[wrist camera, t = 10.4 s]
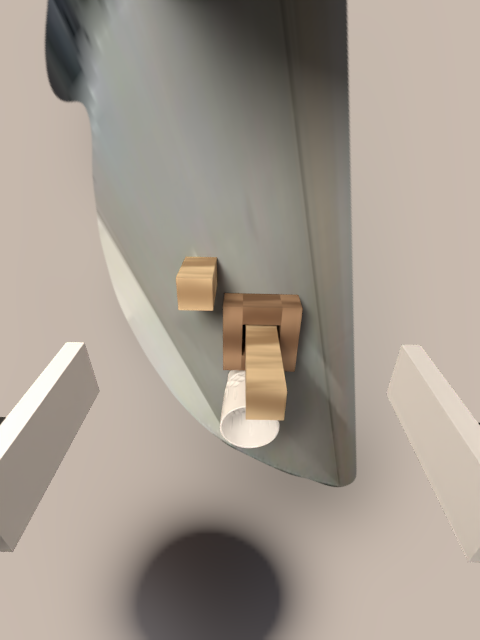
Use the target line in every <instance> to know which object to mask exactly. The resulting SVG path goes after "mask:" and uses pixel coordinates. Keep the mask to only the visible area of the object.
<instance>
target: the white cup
mask: <svg viewBox="0 0 480 640" xmlns="http://www.w3.org/2000/svg"><path fill="white" fill-rule="evenodd" d="M220 431H221V434H222V436H223V437H224V438H225V439H226V440H227V441H228V442H230V443H231V444H233V445H235V446H238V447H243V448H256V447H261V446H264V445H266V444H268V443H270V442H271V441H272V440H274V439H275V437H276V436H277V434H278V432H279V420H246V396H245V370H231V371H230V372H229V374H228V380H227V386H226V388H225V394H224V400H223V407H222V414H221V421H220Z"/></svg>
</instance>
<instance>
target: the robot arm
mask: <svg viewBox="0 0 480 640" xmlns="http://www.w3.org/2000/svg"><path fill="white" fill-rule="evenodd" d="M98 393H99V387H98V384H97V381H96V378H95V375H94V371H93V368H92V365H91V362H90V359H89V355H88V352H87V349H86V346H85V343H82V342H80V343H78V342H66V344H65V345H64V346H63V347H62V348H61V350H60V351H59V352H58V354H57V355H56V356H55V357H54V359H53V360H52V361H51V362H50V364H49V365H48V366H47V367H46V369H45V370H44V371H43V372H42V374H41V375H40V376H39V377H38V379H37V380H36V381H35V382H34V384H33V385H32V386H31V387H30V389H29V390H28V391H27V392H26V394H25V395H24V396H23V397H22V399H21V400H20V401H19V402H18V404H17V405H16V406H15V407H14V409H13V410H12V411H11V412H10V414H9V415H8V416H7V417H0V551H1V552H13V551H14V549H15V547H16V545H17V543H18V541H19V540H20V538H21V536H22V534H23V532H24V530H25V529H26V527H27V525H28V523H29V521H30V519H31V517H32V515H33V514H34V512H35V510H36V508H37V506H38V504H39V502H40V501H41V499H42V497H43V495H44V493H45V491H46V490H47V488H48V486H49V484H50V482H51V480H52V478H53V477H54V475H55V473H56V471H57V469H58V467H59V465H60V464H61V462H62V460H63V458H64V456H65V454H66V452H67V451H68V449H69V447H70V445H71V443H72V441H73V439H74V438H75V435H76V434H77V432H78V430H79V428H80V426H81V425H82V423H83V421H84V419H85V417H86V415H87V414H88V412H89V410H90V408H91V406H92V404H93V402H94V400H95V399H96V397H97V395H98ZM386 394H387V397H388V399H389V401H390V403H391V405H392V407H393V409H394V411H395V413H396V415H397V417H398V419H399V421H400V423H401V425H402V427H403V429H404V431H405V433H406V436H407V438H408V439H409V441H410V444H411V445H412V448H413V450H414V452H415V454H416V456H417V458H418V460H419V462H420V464H421V466H422V468H423V470H424V472H425V474H426V476H427V478H428V481H429V483H430V485H431V486H432V489H433V491H434V493H435V495H436V497H437V499H438V501H439V503H440V505H441V507H442V509H443V511H444V513H445V515H446V517H447V519H448V521H449V523H450V525H451V527H452V530H453V532H454V534H455V535H456V538H457V540H458V542H459V544H460V546H461V548H462V550H463V552H464V554H465V556H466V558H467V560H468V562H480V423H478V422H477V421H476V420H475V418H474V417H473V415H472V414H471V413H470V411H469V410H468V409H467V408H466V406H465V405H464V403H463V402H462V401H461V399H460V398H459V397H458V395H457V394H456V393H455V391H454V390H453V389H452V387H451V386H450V384H449V383H448V382H447V380H446V379H445V378H444V376H443V375H442V374H441V372H440V371H439V370H438V368H437V367H436V366H435V364H434V363H433V361H432V360H431V359H430V357H429V356H428V355H427V353H426V352H425V351H424V349H423V348H422V347H421V345H401V348H400V352H399V355H398V358H397V361H396V364H395V368H394V371H393V374H392V377H391V381H390V384H389V387H388V390H387V393H386Z"/></svg>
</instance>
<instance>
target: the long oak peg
mask: <svg viewBox="0 0 480 640" xmlns="http://www.w3.org/2000/svg"><path fill="white" fill-rule="evenodd" d="M245 396H246V420H284V415H285V406H286V397H287V387H286V381H285V375H284V369H283V363H282V357H281V351H280V345H279V338H278V332H277V326H276V325H248V324H246V327H245Z"/></svg>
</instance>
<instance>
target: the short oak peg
mask: <svg viewBox="0 0 480 640" xmlns="http://www.w3.org/2000/svg"><path fill="white" fill-rule="evenodd" d="M176 285H177V297H178V310H205V311H213V307H214V301H215V296H216V290H217V257H185V259H184V261H183V264H182V266H181V268H180V270H179V272H178V274H177V277H176Z"/></svg>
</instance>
